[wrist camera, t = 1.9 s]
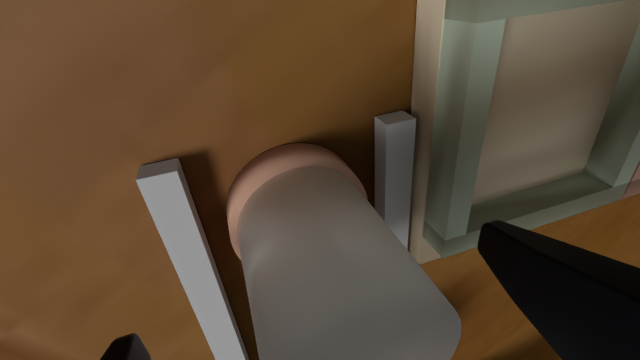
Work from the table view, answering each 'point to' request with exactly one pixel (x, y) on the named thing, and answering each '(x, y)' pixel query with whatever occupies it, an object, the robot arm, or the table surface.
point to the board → (520, 115)
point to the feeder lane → (193, 249)
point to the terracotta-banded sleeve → (329, 266)
